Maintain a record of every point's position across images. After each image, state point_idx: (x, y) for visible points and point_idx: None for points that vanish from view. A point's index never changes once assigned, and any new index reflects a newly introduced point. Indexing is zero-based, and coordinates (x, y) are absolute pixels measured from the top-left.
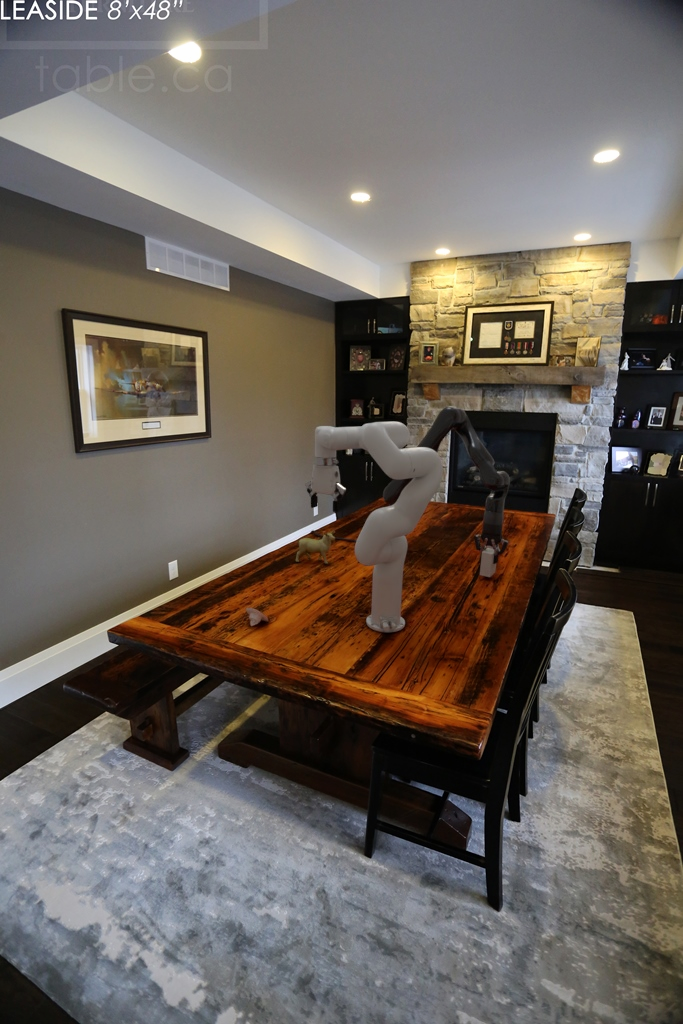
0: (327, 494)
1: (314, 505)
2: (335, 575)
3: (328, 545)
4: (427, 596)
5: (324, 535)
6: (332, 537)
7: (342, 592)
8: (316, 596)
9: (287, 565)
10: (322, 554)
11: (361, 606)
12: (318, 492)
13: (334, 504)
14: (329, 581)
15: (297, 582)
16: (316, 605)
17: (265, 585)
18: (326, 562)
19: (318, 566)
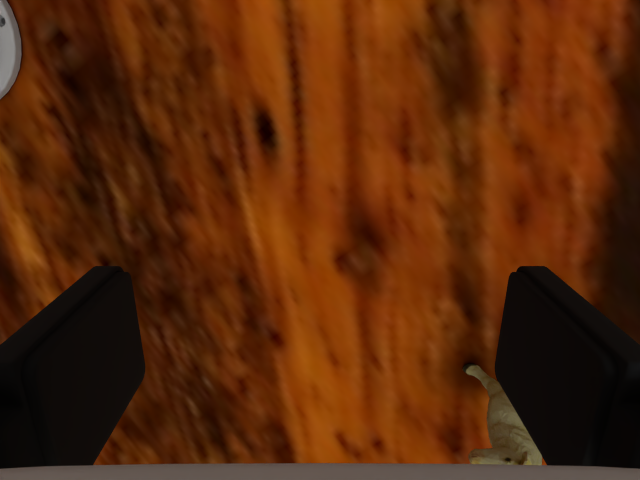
0: (117, 472)
1: (515, 324)
2: (379, 300)
3: (492, 426)
4: (10, 327)
5: (534, 460)
6: (483, 458)
7: (258, 182)
8: (316, 84)
9: (605, 275)
10: (499, 384)
11: (118, 115)
12: (466, 466)
13: (29, 329)
14: (363, 240)
15: (467, 155)
16: (259, 6)
17: (572, 41)
18: (471, 369)
19: (486, 335)
